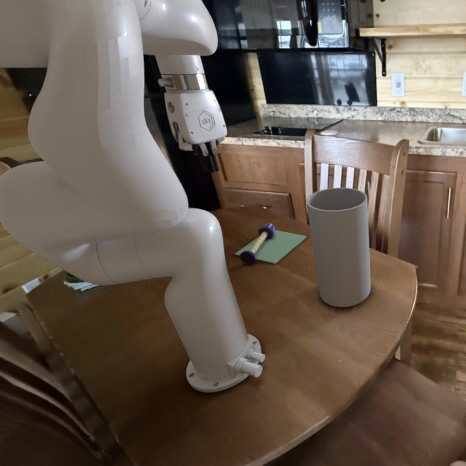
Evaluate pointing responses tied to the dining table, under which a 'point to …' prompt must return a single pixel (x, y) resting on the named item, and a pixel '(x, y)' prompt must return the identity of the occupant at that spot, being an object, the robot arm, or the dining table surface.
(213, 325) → the robot arm
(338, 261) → the cylinder vase
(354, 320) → the dining table surface
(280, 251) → the mat
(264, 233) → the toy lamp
